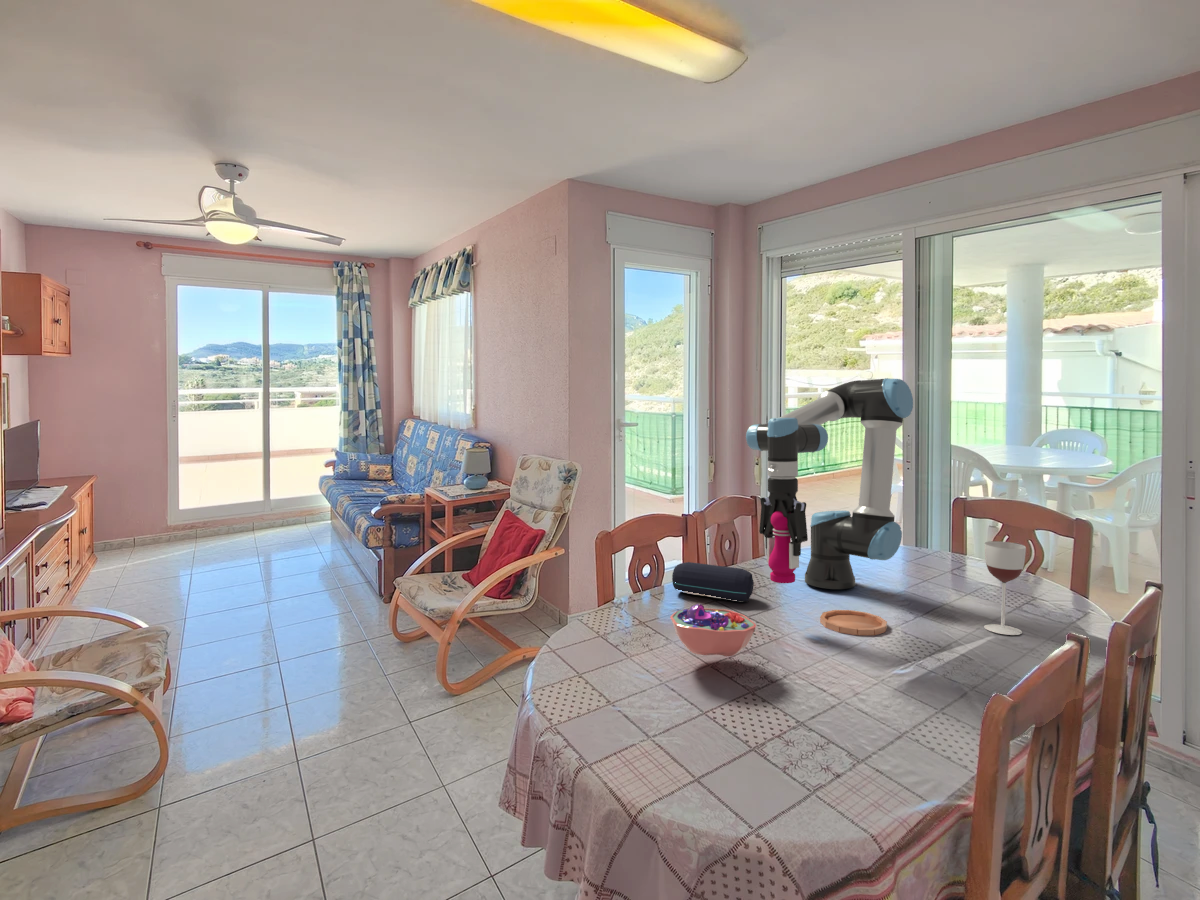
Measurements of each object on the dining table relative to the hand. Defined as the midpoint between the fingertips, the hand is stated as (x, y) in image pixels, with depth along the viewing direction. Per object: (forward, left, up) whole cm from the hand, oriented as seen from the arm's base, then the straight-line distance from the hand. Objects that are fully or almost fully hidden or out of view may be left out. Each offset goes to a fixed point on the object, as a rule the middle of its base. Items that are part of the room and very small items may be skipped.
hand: (782, 564), depth 161 cm
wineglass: (+30, +48, -17) cm, 59 cm away
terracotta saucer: (+8, +18, -17) cm, 26 cm away
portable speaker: (-31, +3, -17) cm, 35 cm away
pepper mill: (0, 0, -4) cm, 4 cm away
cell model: (+4, -27, -17) cm, 32 cm away
